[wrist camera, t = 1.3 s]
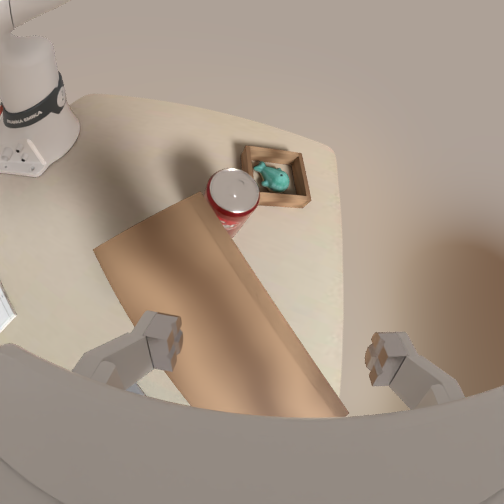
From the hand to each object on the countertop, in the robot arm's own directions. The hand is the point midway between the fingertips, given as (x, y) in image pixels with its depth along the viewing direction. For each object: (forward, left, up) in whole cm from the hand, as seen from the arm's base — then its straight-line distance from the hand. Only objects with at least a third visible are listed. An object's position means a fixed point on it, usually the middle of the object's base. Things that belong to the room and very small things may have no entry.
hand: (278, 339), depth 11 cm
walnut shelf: (0, -1, -32) cm, 32 cm away
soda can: (+5, +17, -32) cm, 37 cm away
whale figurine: (+15, +27, -32) cm, 44 cm away
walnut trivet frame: (+16, +26, -32) cm, 44 cm away
